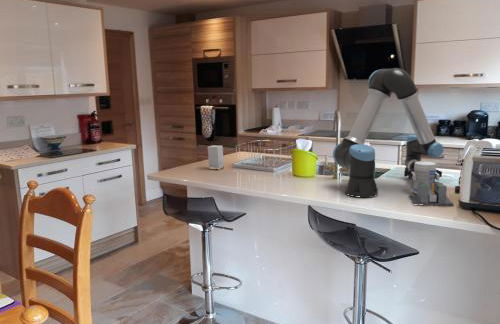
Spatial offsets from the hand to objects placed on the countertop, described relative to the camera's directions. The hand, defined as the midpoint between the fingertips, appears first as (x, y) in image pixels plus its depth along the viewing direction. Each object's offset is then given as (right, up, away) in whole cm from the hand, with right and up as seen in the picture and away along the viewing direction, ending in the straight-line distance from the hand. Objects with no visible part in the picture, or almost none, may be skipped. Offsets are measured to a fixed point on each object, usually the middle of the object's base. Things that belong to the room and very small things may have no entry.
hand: (426, 177), depth 186 cm
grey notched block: (-1, -10, -7) cm, 12 cm away
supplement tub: (+1, -8, +6) cm, 10 cm away
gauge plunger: (-1, -9, -7) cm, 11 cm away
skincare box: (-104, +2, +81) cm, 131 cm away
